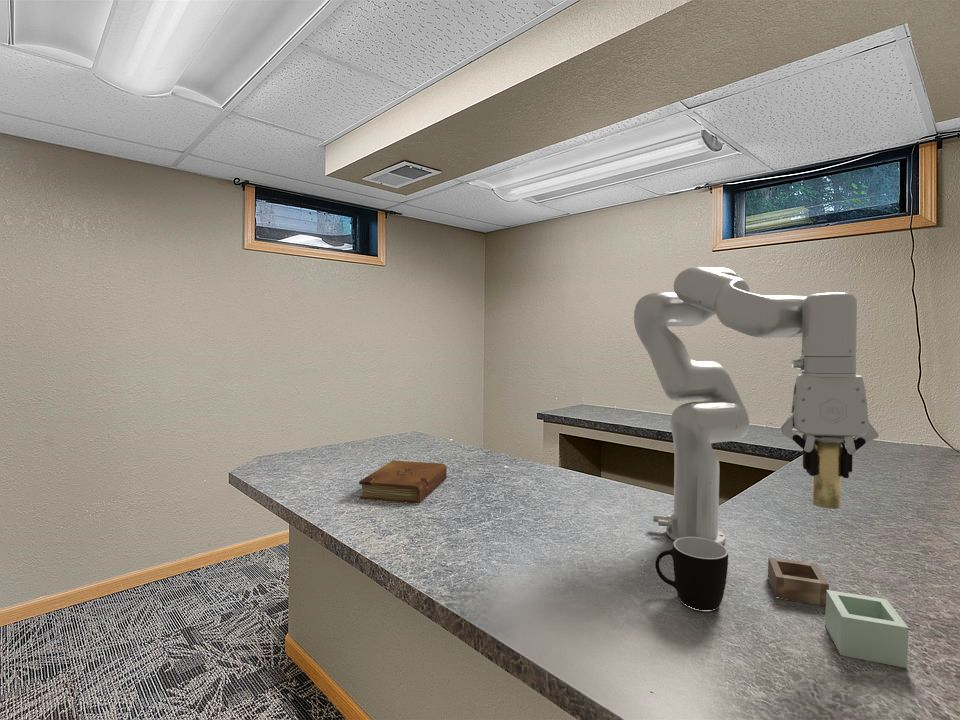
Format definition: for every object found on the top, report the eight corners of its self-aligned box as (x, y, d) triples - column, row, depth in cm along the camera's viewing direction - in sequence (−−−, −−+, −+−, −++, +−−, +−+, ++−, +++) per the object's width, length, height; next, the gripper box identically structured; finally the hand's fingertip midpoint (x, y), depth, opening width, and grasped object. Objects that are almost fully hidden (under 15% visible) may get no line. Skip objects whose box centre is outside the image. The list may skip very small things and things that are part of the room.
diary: (420, 506, 139) (419, 486, 139) (359, 501, 144) (359, 481, 144) (446, 480, 161) (446, 463, 161) (393, 476, 166) (393, 459, 166)
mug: (727, 596, 91) (729, 542, 90) (725, 622, 83) (727, 563, 82) (658, 580, 97) (659, 529, 96) (650, 603, 89) (651, 548, 88)
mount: (775, 597, 90) (776, 576, 90) (767, 577, 98) (768, 557, 97) (827, 606, 87) (828, 584, 87) (815, 584, 95) (816, 563, 95)
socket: (840, 655, 75) (841, 616, 74) (825, 625, 82) (826, 589, 82) (906, 668, 72) (908, 627, 71) (884, 635, 79) (886, 599, 79)
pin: (813, 508, 83) (813, 436, 83) (805, 498, 88) (806, 431, 88) (849, 511, 82) (849, 438, 81) (839, 501, 86) (839, 432, 86)
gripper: (775, 368, 83) (775, 476, 84) (899, 368, 77) (897, 485, 78) (767, 365, 90) (766, 466, 91) (879, 365, 85) (878, 473, 85)
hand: (826, 473), depth 85 cm, fingers closed on pin, 4 cm apart
